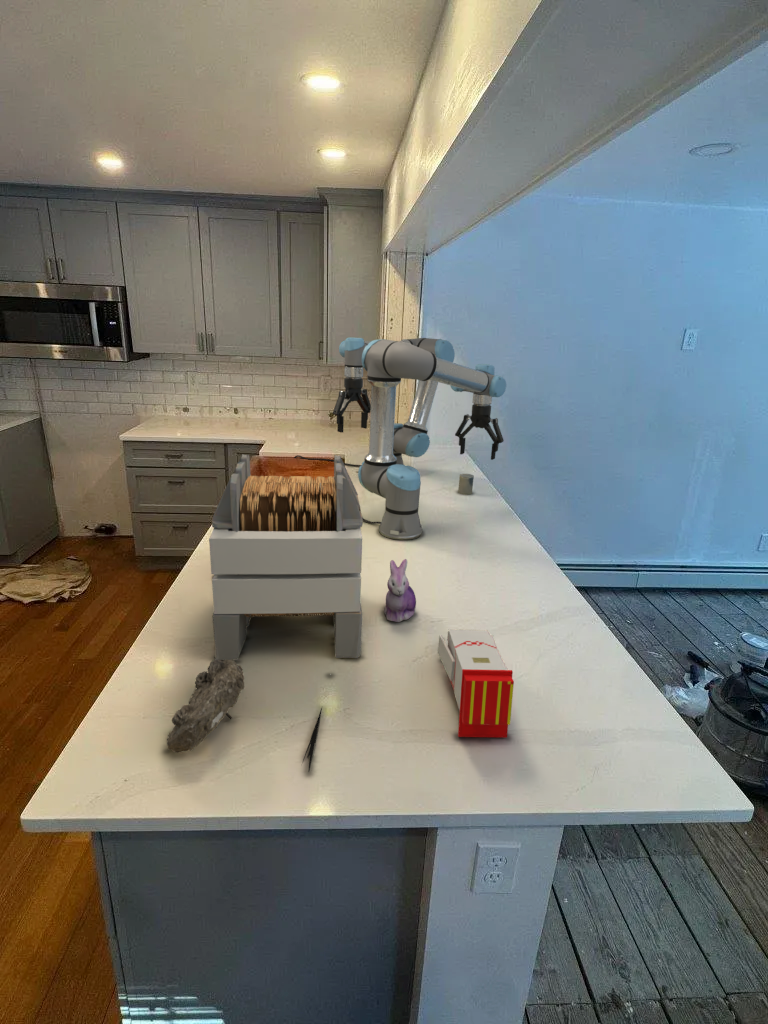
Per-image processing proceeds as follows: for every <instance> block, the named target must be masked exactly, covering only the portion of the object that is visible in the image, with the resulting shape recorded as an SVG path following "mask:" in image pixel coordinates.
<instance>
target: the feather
mask: <svg viewBox="0 0 768 1024" xmlns="http://www.w3.org/2000/svg"><path fill="white" fill-rule="evenodd" d="M329 675H330V676H331V675H332V674H331V673H330V674H329ZM322 710H323V707H321V708H320V710H319V713H318V716H317V719H316V723H315V725H314V728H313V731H312V733H311V737H310V739H309V742H308V745H307V748H306V751H305V754H304V757H303V760H302V763H301V767H302V765H303V763H304V761H305V758H308V759H309V760H308V762H307V763H308V764H307V766H308V771H310V770H311V766H312V765H311V764H312V760H313V757H315V756H314V755H315V751H316V749H315V746H317V739H318V733H319V729H320V722H321V717H322V712H323V711H322ZM313 754H314V755H313ZM306 755H307V757H306Z"/></svg>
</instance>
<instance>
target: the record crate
mask: <svg viewBox="0 0 768 1024" xmlns="http://www.w3.org/2000/svg"><path fill="white" fill-rule="evenodd" d="M333 460H334V461H333V469H334V470H333V476H327V477H325V476H321V475H319V476H314V477H313V476H311V475H309V476H307V475H290V476H283V475H279V476H278V475H265V476H264V475H259V476H258V475H251V459H250V454H243V453H242V454H241V456H240V459H239V461H238V462H237V464H236V466H235V469H234V471H233V473H232V474H231V475H230V478H229V479H228V482H227V484H226V486H225V489H224V491H223V493H222V496H221V498H220V500H219V502H218V504H217V507H216V508H215V511H214V513H213V516H212V518H211V527H212V528H213V529H212V531H211V534H210V535H209V538H208V543H209V559H210V574H211V575H213V576H212V579H211V587H212V588H211V589H212V600H213V601H212V603H213V612H212V629H213V630H212V631H213V640H214V649H215V657H214V660H217V661H224V660H227V659H228V660H231V659H232V660H234V661H238V660H239V658H240V654H241V653H242V649H243V647H244V645H245V642H246V640H247V636H248V632H247V630H248V629H247V627H249V626H250V624H251V623H250V622H251V618H253V617H254V618H255V617H258V618H259V617H264V618H265V617H267V618H268V617H292V616H293V617H308V616H310V617H311V616H333V618H332V619H333V626H334V627H333V636H334V638H333V639H334V640H333V641H334V658H337V659H342V658H344V659H345V658H347V659H349V658H352V659H358V658H359V657H361V656H362V633H363V632H362V631H363V630H362V629H363V611H362V603H361V590H362V576H361V574H362V563H363V562H362V561H363V534H362V529H361V528H362V527H363V525H364V524H363V523H364V521H363V519H362V518H363V515H362V509H361V505H360V499H359V494H358V492H357V489H356V487H355V485H354V483H353V481H352V478H351V477H350V474H349V472H348V470H347V468H346V465H344V463H345V462H344V461H343V459H342V456H341V455H336V454H334V458H333Z"/></svg>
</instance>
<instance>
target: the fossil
mask: <svg viewBox="0 0 768 1024" xmlns="http://www.w3.org/2000/svg"><path fill="white" fill-rule="evenodd" d="M243 670H244V669H243V667H242V665H240V664H237V662H236V660H232V659H231V660H228V659H227V660H221V661H217V660H215V659H212V660H211V661H210V663H209V665H208V666H207V671H201V672H199V673H198V674H197V675H196V676H195V680H194V684H195V685H194V687H195V689H194V690H193V693H192V694H191V697H190V698H189V700H188V704H184V705H182V706H181V707H180V709H177V710H176V711H175V713H174V715H173V716H172V718H171V723H172V724H173V727H172V730H171V731H170V732H168V734H167V738H166V741H167V742H166V745H167V749H168V750H169V751H173V752H174V753H176V754H178V753H182V752H188V751H189V752H192V751H193V750H195V748H196V747H197V746H199V744H200V743H201V742H203V741H204V740H205V739H206V738H207V737H208V736H209V735H210V734H211V733H212V732H214V730H215V729H217V727H218V726H219V724H220V722H221V721H222V720H223V719H224V718H225V716H226V717H227V719H229V720H233V717H232V715H230V714H229V710H230V709H231V708H234V706H235V704H236V703H237V702H238V699H239V697H240V695H241V693H242V691H243V690H245V689H244V688H245V675H244V671H243Z"/></svg>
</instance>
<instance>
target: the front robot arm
mask: <svg viewBox="0 0 768 1024" xmlns="http://www.w3.org/2000/svg"><path fill="white" fill-rule="evenodd" d="M370 341H371V342H370V343H369V344H368V345H367V346H366V347H365V349H364V351H363V353H362V365H363V369H364V370H365V371H366V373H367V376H366V377H367V379H366V380H367V382H368V383H369V384H370V386H371V387H370V388H371V389H370V404H371V411H370V413H369V414H370V415H369V416H370V417H369V440H368V441H369V443H368V453H367V454H366V455H365V456H364V460H363V461H362V463H361V464H360V465H361V466H360V467H358V471H357V477H358V478H357V479H358V481H359V483H360V485H361V486H362V488H364V489H365V490H367V491H368V492H369V493H372V494H375V495H377V496H379V497H381V498H383V499H385V504H384V505H385V507H384V508H385V509H384V513H383V515H382V519H381V521H372V520H367V519H365V518H364V517H362V519H363V522H365V523H367V524H369V525H379V527H378V533H379V534H380V535H381V536H382V537H385V538H387V539H389V540H395V541H410V540H415V539H418V538H420V537H421V536H422V535H423V525H422V524H421V518H420V515H419V507H420V506H419V505H420V496H421V495H420V494H421V482H422V481H421V473H420V471H419V470H417V468H416V467H413V466H410V465H406V464H404V465H402V464H397V458H396V457H395V456H394V455H393V441H394V423H395V420H396V419H395V418H396V397H397V387H398V385H400V383H401V382H402V379H405V380H407V379H408V380H415V381H419V380H421V381H428V380H433V381H436V382H438V383H440V384H444V385H447V386H450V388H451V389H452V391H454V392H455V393H456V392H457V393H458V392H459V393H462V392H467V393H472V405H471V415H470V414H468V413H466V414H464V415H463V418H462V419H463V420H462V421H461V423H460V424H459V426H458V428H457V430H456V432H455V434H454V436H455V437H457V438H458V446H459V447H460V449H459V455H464V454H465V451H466V450H465V449H466V437H465V436H466V435H467V434H468V433H470V431H472V429H473V428H476V429H478V428H479V429H484V430H485V431H486V432H487V434H488V435H489V437H490V439H491V440H492V443H491V451H490V460H491V461H493V460H495V459H496V453H497V452H498V451H499V444H501V443H504V441H505V439H504V437H503V435H502V431H501V429H500V425H499V418H497V417H495V418H492V417H491V414H492V406H491V405H492V403H493V398H500V397H502V396H503V395H504V394H505V393H506V389H507V380H506V379H505V378H504V377H503V376H500V375H498V374H495V366H494V365H493V364H490V363H489V364H488V363H478V364H476V365H475V367H474V368H472V367H469V366H466V365H463V364H460V363H457V362H456V363H455V362H454V361H453V362H450V361H447V360H444V359H440V358H437V357H436V356H435V354H434V353H432V352H429V351H426V350H424V349H421V348H419V347H417V346H414V345H412V344H409V343H406V342H401V340H392V339H385V338H381V339H380V338H379V339H378V338H377V339H373V340H370ZM469 421H471V423H470V424H468V422H469ZM490 423H491V424H492V426H491V424H490ZM467 424H468V426H467V427H466V425H467ZM465 427H466V428H465ZM492 427H493V428H492Z"/></svg>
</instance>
